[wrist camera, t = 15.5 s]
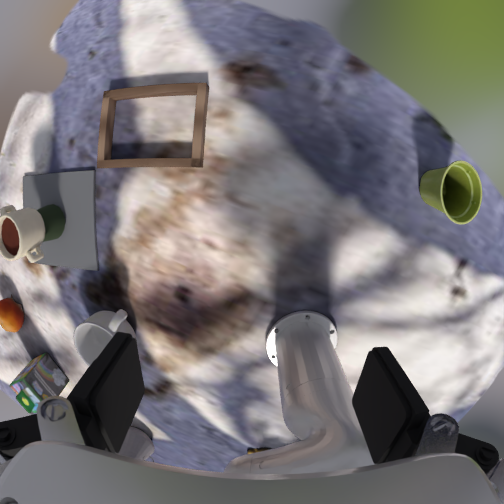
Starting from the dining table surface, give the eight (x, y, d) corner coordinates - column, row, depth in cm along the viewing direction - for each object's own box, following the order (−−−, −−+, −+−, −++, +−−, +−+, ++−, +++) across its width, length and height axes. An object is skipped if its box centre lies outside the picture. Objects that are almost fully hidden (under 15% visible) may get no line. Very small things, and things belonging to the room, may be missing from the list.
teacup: (121, 360, 50) (106, 385, 42) (83, 322, 48) (63, 343, 40) (163, 325, 47) (150, 351, 40) (120, 281, 45) (99, 300, 37)
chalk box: (31, 359, 51) (1, 392, 37) (47, 351, 50) (13, 387, 36) (53, 387, 54) (27, 422, 39) (71, 381, 53) (42, 420, 38)
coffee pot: (145, 451, 59) (131, 493, 45) (109, 430, 57) (90, 470, 43) (185, 424, 55) (173, 476, 40) (142, 398, 53) (121, 449, 38)
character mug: (32, 212, 41) (-16, 226, 28) (49, 185, 40) (-1, 193, 27) (62, 256, 43) (17, 281, 31) (81, 231, 42) (34, 252, 30)
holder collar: (202, 167, 40) (199, 167, 38) (104, 168, 40) (97, 168, 37) (209, 87, 37) (206, 82, 34) (110, 94, 36) (103, 91, 34)
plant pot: (436, 150, 39) (467, 149, 30) (458, 195, 41) (489, 202, 32) (401, 178, 40) (431, 181, 32) (426, 225, 42) (455, 236, 34)
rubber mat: (99, 269, 45) (97, 270, 44) (30, 261, 44) (28, 262, 44) (95, 170, 40) (93, 170, 39) (24, 176, 40) (22, 176, 39)
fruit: (24, 300, 45) (6, 329, 40) (34, 315, 51) (18, 342, 45) (2, 282, 44) (-16, 309, 39) (12, 299, 50) (-4, 324, 44)
